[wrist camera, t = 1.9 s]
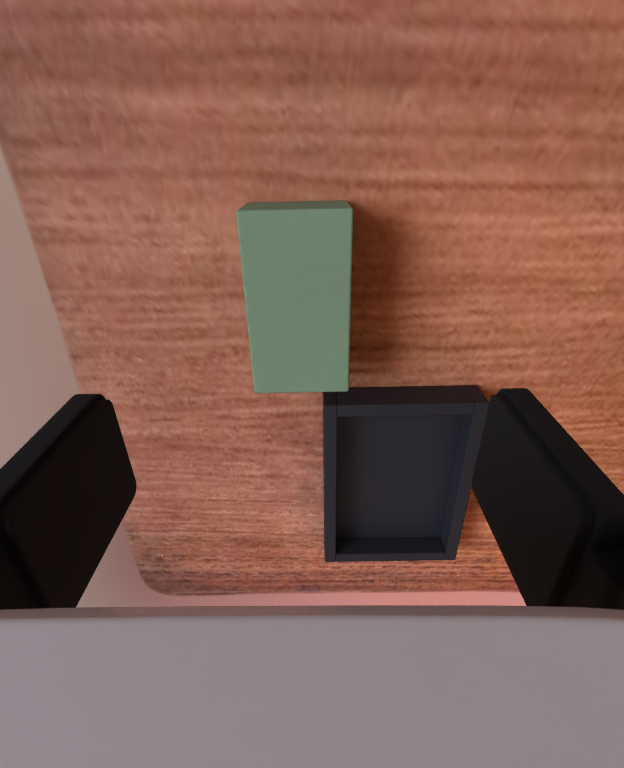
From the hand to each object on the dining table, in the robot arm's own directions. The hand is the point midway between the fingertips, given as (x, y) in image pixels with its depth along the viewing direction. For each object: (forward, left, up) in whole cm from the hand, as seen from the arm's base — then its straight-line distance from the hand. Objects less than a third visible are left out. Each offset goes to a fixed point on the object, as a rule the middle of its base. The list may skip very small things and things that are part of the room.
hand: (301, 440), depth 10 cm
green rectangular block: (0, 0, -14) cm, 14 cm away
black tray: (+6, -13, -14) cm, 20 cm away
